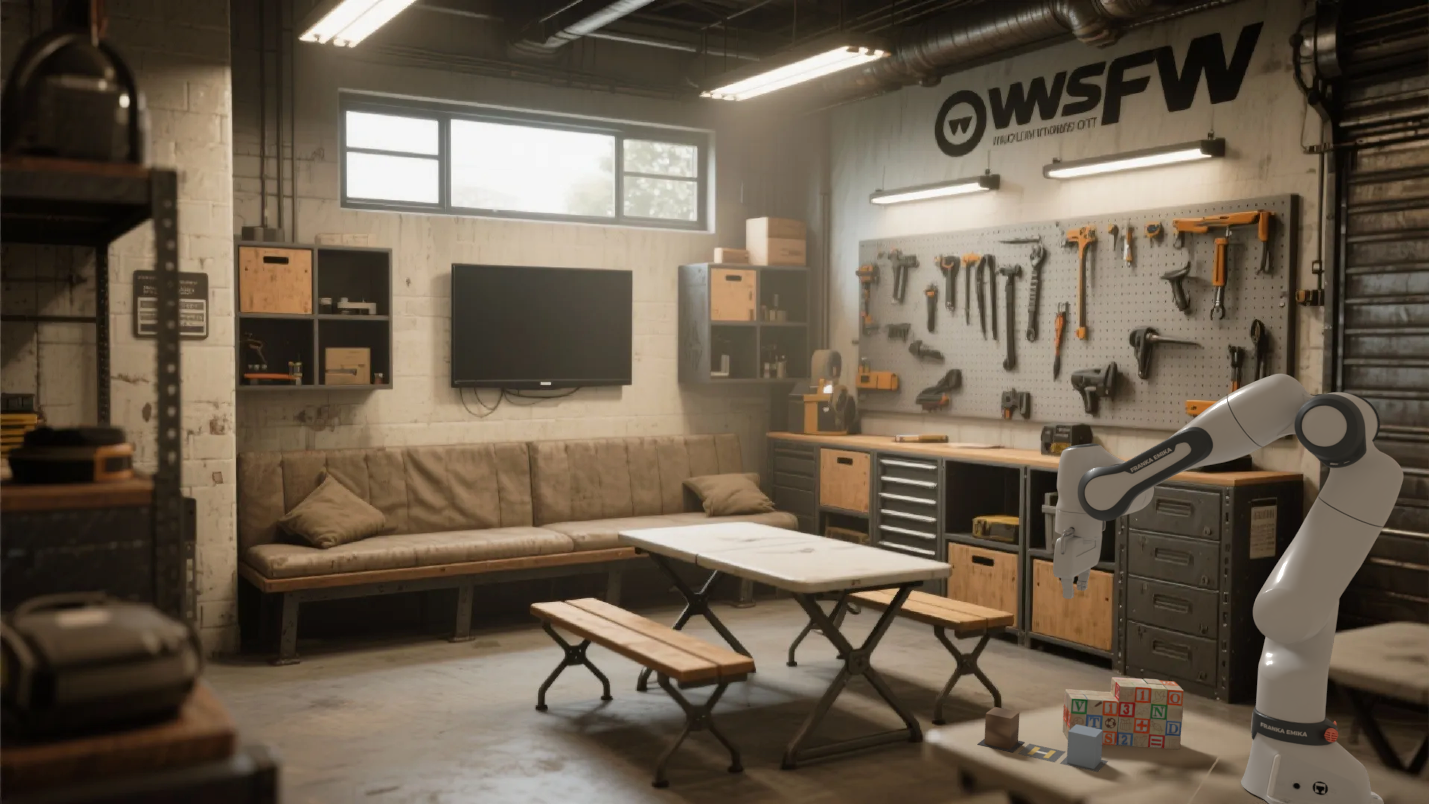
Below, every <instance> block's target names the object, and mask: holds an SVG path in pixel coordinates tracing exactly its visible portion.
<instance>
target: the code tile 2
mask: <svg viewBox="0 0 1429 804" xmlns="http://www.w3.org/2000/svg"><path fill="white" fill-rule="evenodd" d="M1107 763H1108V760H1105V759H1101V762H1100V763H1099V764H1098V765H1097V766H1096V767H1095V768H1094V769H1091V768H1087V767H1082V766H1078V765H1074V764H1069V763H1067V756H1066V757H1065V758H1063V760H1062V761H1060V763H1059V764H1060V765H1065V766H1069V767H1072V768H1073V767H1074V768H1079V769H1082V770H1085V771H1086V770H1087V771H1091V772H1095V773H1099V772H1100V771H1101V769H1103V767H1104V766H1105V765H1106V764H1107Z"/></svg>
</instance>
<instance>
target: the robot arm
mask: <svg viewBox="0 0 1429 804" xmlns="http://www.w3.org/2000/svg"><path fill="white" fill-rule="evenodd" d="M1380 428H1381V420H1380V415H1379V413H1378V411H1377V409H1376V408H1375V407H1374V405H1373V404H1372V403H1371V402H1370V401H1369V400H1367V399H1366V398H1364V397H1361V396H1360V395H1357V394H1353V393H1347V392H1341V391H1340V392H1339V391H1338V392H1337V391H1335V392H1329V393H1319V394H1315V395H1312V394H1311V393H1310V392H1308V391H1307V389H1306V388H1305V387H1304V386H1303V384H1302V383H1301V382H1300V381H1299V380H1297V379H1296V378H1295V377H1293V376H1291V375H1288V374H1286V373H1274V374H1271V375H1270V376H1266V377H1263V378H1260V379H1258V380H1256V381H1253V382H1251V383H1249V384H1246V385H1244V386H1242V387H1240V388H1238V389H1236V390H1234V391H1233V392H1231V393H1229V394H1227V395H1225V396H1224V397H1221V399H1219V400H1217V401H1216V402H1214V403H1213V404H1212V405H1210V406H1208V407H1207V408H1206V409H1204V410H1203V411H1202V412H1201V413H1200V414H1197V416H1195V417H1194V418H1193V419H1192V420H1190V422H1188V423H1187V424H1186V425H1184V426H1183V427H1182V428H1181V429H1179V430H1177V431H1176V432H1175V433H1174V434H1172V435H1171V436H1169V437H1168V438H1167V439H1165V440H1163V441H1162V442H1159V443H1158V444H1156V445H1154V446H1152V447H1151V448H1148V449H1147V450H1145V451H1143V452H1141V453H1140V454H1137V455H1136V456H1134V457H1132V458H1130V459H1128V460H1124V459H1121V458H1119V457H1117V456H1115V455H1114V454H1112V453H1110V452H1109V451H1107V450H1106V449H1105V448H1104V447H1103V446H1102V445H1101V444H1099V443H1084V444H1077V445H1076V444H1075V445H1071V446H1070V445H1069V446H1068V447H1065V448H1064V449H1063V450H1062V451H1061V453H1060V458H1059V461H1058V468H1057V479H1056V489H1057V494H1058V499H1057V503H1056V506H1055V521H1054V522H1055V523H1054V524H1055V525H1054V532H1055V533H1057V534H1058V535H1061V536H1060V537H1058V538H1057V539H1056V541H1055V546H1054V552H1053V553H1054V554H1053V565H1052V573H1053V574H1052V575H1053V576H1054V577H1055V578H1058V579H1059V578H1060V583H1061V587H1062V597H1063V598H1064V599H1066V600H1071V599H1073V598H1074V597H1075V588H1074V581H1075V577H1077V576H1078V577H1077V581H1076V590H1077V591H1082V592H1084V591H1086V590H1088V585H1089V584H1088V582H1089V579H1090V574H1091V568H1093V567H1095V566H1097V565H1098V564H1099V561H1100V557H1101V552H1102V551H1101V550H1102V541H1103V531H1105V530H1106V522H1110V521H1113V520H1116V519H1118V518H1120V517H1123V516H1126V515H1130V514H1133V513H1136V512H1139V511H1141V510H1143V509H1145V508H1146V507H1147V506H1148V505H1150V503H1152V500H1153V499H1154V496H1155V491H1156V490H1155V489H1156V488H1155V487H1156V486H1157V485H1159V484H1161V483H1163V482H1165V481H1167V480H1168V479H1171V478H1172V477H1174V476H1177V475H1178V474H1180V473H1183V472H1186V471H1188V470H1192V469H1195V468H1200V467H1204V466H1210V465H1216V464H1221V463H1226V462H1230V461H1233V460H1236V459H1239V458H1243V457H1246V456H1247V455H1250V454H1251V453H1254V452H1257V451H1259V450H1260V449H1262V448H1264V447H1266V446H1268V445H1269V444H1271V443H1273V442H1275V441H1277V440H1279V439H1280V438H1283V437H1285V436H1288V435H1295V436H1296V437H1297V440H1298V442H1300V444H1301V445H1302V447H1304V448H1305V450H1307V451H1308V453H1311V454H1312V456H1313V457H1315V458H1317V459H1318V460H1319V461H1320V463H1322V464H1323V465H1324V466H1326V467H1327V468H1329V473H1328V476H1327V479H1326V481H1325V482H1324V484H1323V485H1322V488H1321V490H1320V491H1319V493H1318V495H1317V497H1316V499H1315V501H1314V503H1313V504H1312V506H1311V507H1310V509H1309V512H1308V513H1307V515H1306V517H1305V518H1304V520H1303V522H1302V524H1301V526H1300V528H1299V529H1298V531H1297V532H1296V534H1295V536H1294V538H1292V541H1291V542H1290V544H1288V547H1287V548H1286V549H1285V551H1284V553H1283V554H1282V556H1281V557H1280V559H1278V562H1277V563H1276V565H1275V566H1274V568H1273V569H1272V571H1271V573H1270V574H1269V576H1268V577H1267V579H1266V581H1265V582H1264V584H1263V586H1262V587H1261V589H1260V591H1259V592H1258V594H1257V596H1256V598H1255V601H1254V603H1253V607H1252V617H1253V621H1254V624H1255V626H1256V628H1257V629H1258V630H1259V632H1260V633H1261V634H1262V635H1264V637H1265V639H1264V643H1263V648H1262V652H1261V655H1260V659H1259V662H1258V668H1257V685H1256V699H1255V700H1256V701H1255V702H1256V703H1255V706H1254V708H1253V709H1252V713H1251V723H1250V734H1251V739H1252V741H1251V747H1250V752H1249V757H1248V760H1247V765H1246V768H1245V770H1244V774H1243V776H1242V778H1241V780H1240V783H1241V787H1243V788H1244V789H1245V790H1246V791H1248V792H1249V793H1251V794H1252V795H1255V796H1257V797H1258V798H1260V799H1262V800H1264V801H1266V803H1268V804H1385V802H1384V800H1383V798H1382V797H1381V796H1380V795H1379V794H1377V793H1376V792H1374V791H1372V789H1371V782H1370V777H1369V773H1368V771H1367V769H1366V767H1365V766H1364V764H1363V763H1361V762H1360V761H1359V760H1358V759H1357V758H1356V757H1355V756H1354V755H1352V754H1351V753H1350V752H1349V751H1348V750H1346V748H1344V747H1343V746H1342V745H1341V744H1340V743H1339V742H1338V741H1337V740H1338V737H1339V732H1338V726H1337V725H1338V724H1337V722H1336V720H1334V721H1331V720H1330V719H1329V718H1327V716H1326V706H1327V693H1328V692H1327V691H1328V679H1329V670H1330V666H1331V665H1330V664H1331V659H1332V654H1333V648H1334V641H1335V638H1336V637H1335V636H1336V629H1337V622H1338V615H1339V605H1340V598H1341V596H1342V595H1343V593H1344V592H1345V591H1346V589H1347V587H1348V586H1349V584H1350V583H1351V581H1352V580H1353V578H1354V577H1355V575H1356V573H1357V572H1358V571H1359V569H1360V568H1361V567H1362V565H1363V563H1364V561H1365V560H1366V558H1367V556H1368V554H1369V553H1370V551H1371V550H1372V548H1373V546H1374V544H1375V542H1376V540H1377V539H1378V537H1379V536H1380V534H1381V532H1382V530H1383V528H1384V526H1385V525H1386V523H1387V521H1388V520H1389V517H1390V515H1391V514H1392V511H1393V509H1394V507H1395V504H1396V502H1397V500H1398V497H1399V494H1400V492H1401V489H1402V484H1403V481H1404V471H1403V469H1402V467H1401V465H1400V464H1399V463H1398V462H1397V461H1396V460H1395V459H1394V458H1393V457H1392V456H1390V455H1388V454H1386V453H1385V452H1382V451H1380V450H1379V449H1378V448H1377V447H1376V446H1375V444H1374V442H1375V441H1376V439H1377V437H1378V436H1379V434H1380V433H1379V432H1380V430H1381V429H1380Z"/></svg>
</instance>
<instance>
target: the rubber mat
mask: <svg viewBox="0 0 1429 804" xmlns="http://www.w3.org/2000/svg"><path fill="white" fill-rule="evenodd" d="M984 740H985V738H983V739H982V740H980V741H979V742H978V743H976V744H977V746H982V747H987V748H991V749H995V750H999V751H1002V752H1003V751H1004V752H1008V753H1012V754H1013V753H1014V752H1015V751H1017V750H1018V749H1019V748H1020V747H1021V746H1023V744H1024V743H1025V741H1022V740H1018V743H1017V744H1015V745H1014V746H1013V747H1012V748H1011V749H1005V748H1001V747H996V746H992V745H988V744H984Z"/></svg>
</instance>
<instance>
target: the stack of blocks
mask: <svg viewBox="0 0 1429 804" xmlns="http://www.w3.org/2000/svg"><path fill="white" fill-rule="evenodd" d="M1184 691H1185V690H1184V689H1182V687H1181V686H1180V685H1179V684H1178V683H1177V682H1176V681H1174V680H1173V681H1171V680H1170V681H1169V680H1160V679H1158V678H1157V679H1155V678H1143V679H1142V678H1135V677H1127V678H1126V677H1114V676H1113V677H1111V681H1110V691H1098V690H1097V691H1096V690H1086V689H1072V688H1071V689H1069V688H1068V689H1067V688H1065V689H1064V701H1063V702H1064V703H1063V714H1062V718H1063V719H1062V733H1063V735H1064V736H1065V739H1066V740H1067V741H1068V731H1069V730H1070V729H1072V728H1073V727H1074V726H1075V725H1076V724H1077V725H1082V726H1087V727H1091V728H1096V729H1101V730H1103V738H1102V745H1107V746H1124V747H1125V746H1127V747H1138V748H1139V747H1140V748H1153V749H1154V748H1155V749H1165V750H1167V749H1169V750H1181V743H1182V742H1181V738H1182V737H1181V736H1182V725H1183V717H1184V716H1183V715H1184V703H1183V702H1184Z"/></svg>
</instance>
